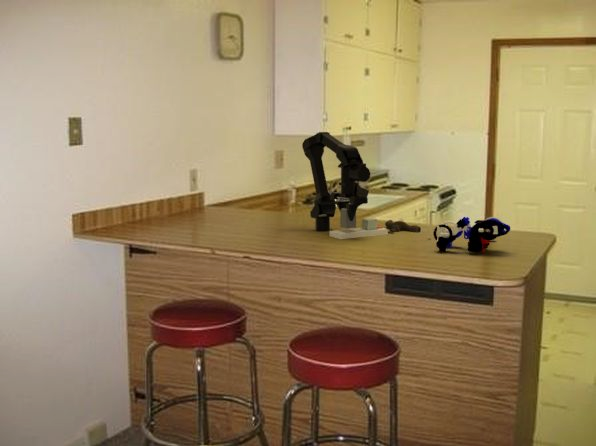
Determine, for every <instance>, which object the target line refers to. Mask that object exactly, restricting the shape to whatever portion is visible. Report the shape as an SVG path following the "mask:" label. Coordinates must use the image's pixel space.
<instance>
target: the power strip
mask: <svg viewBox="0 0 596 446" xmlns="http://www.w3.org/2000/svg"><path fill="white" fill-rule="evenodd" d="M388 229H389V228H386V227H385V228H384V227H383V226H382V225H377V230H368V231H367V230H363V229H362V227H356V228H347V229H346V228H343V229H337V230H336V229H335V230H334V229H333V230H330V231H329V237H331V238H335V239H338V240H346V239H355V238H364V237H376V236H384V235H389V234H388Z"/></svg>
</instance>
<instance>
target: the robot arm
mask: <svg viewBox="0 0 596 446" xmlns="http://www.w3.org/2000/svg"><path fill="white" fill-rule="evenodd" d="M325 148H327V149H329V150H331V151H332V152H333V153H334V154H335V156H336V159H337V160H338V161H339V162H340V163H339V164H338V165H337V168H340V181H339V182H338V186H340V191H339V192H338V191H334V192H329V189H328V184H327V179H326V174H325V173H326V172H325V169H324V164H323V156H324V152H325ZM302 150H303V154H304V156H305V157H306V158H307V159H308V160H309V162H310V169H311V172H312V178H313V184H314V189H315V194H316V195H315V197H314V200H313V207H312V208H311V210H310V211H309V213H310V214H309V216H310V218H311V219H315V221H314V222H315V225H314V227H315V229H314V230H315V231H318V232H330V231H331V230H330V229H331V224H330V223H331V222H330V221H331V219H330V218H334V217H335V213H336V208H338V210H339V212H340V209H342V208H347V211H348V215H349V219H350V221H353V219H354V216H355V213H356V214H357V209H358V208H359V207H360V206H362V205H364V204H368V200H369V199H368V198H369V193H370V189H367V188H364V187H361V185H359V183H358V182H361V183H362V182H363V183H364V182H365V183H366V182H368V181H369V179H370V177H371V170H370V168H369V167H367V163H364V160H363V158H362V156H361V154H360V151H359V149H358V148H357V147H356V146H353V145H349V144H345V143H343V142H341V141H340V140H339V139H337V138H336V137H334V136H333V135H331V133H330V132H327V131H318V132H317V133H316V134H314V135H312V136H309V137H307V138H305V139H304V140H303V142H302Z"/></svg>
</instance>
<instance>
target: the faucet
mask: <svg viewBox="0 0 596 446" xmlns="http://www.w3.org/2000/svg"><path fill="white" fill-rule="evenodd" d="M384 224H385V225H384V226H385V228H387V229H389V231H388V234H387V235H389V234H390V235H394V234H395V233H399V232H410V233H420V232H421V230H422V229H421V226H419V225H416V224H415V225H414V224H413V225H412V224H411V225H410V224H407V222H405V221H400V220H397V221H394V222H393V220H392V219H389V220H387V221H385V222H384Z"/></svg>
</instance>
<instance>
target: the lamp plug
mask: <svg viewBox="0 0 596 446" xmlns="http://www.w3.org/2000/svg"><path fill="white" fill-rule="evenodd" d="M377 226H378V218H373V217H366V218H361V228H362V229H363V230H367V231H368V230H377Z"/></svg>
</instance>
